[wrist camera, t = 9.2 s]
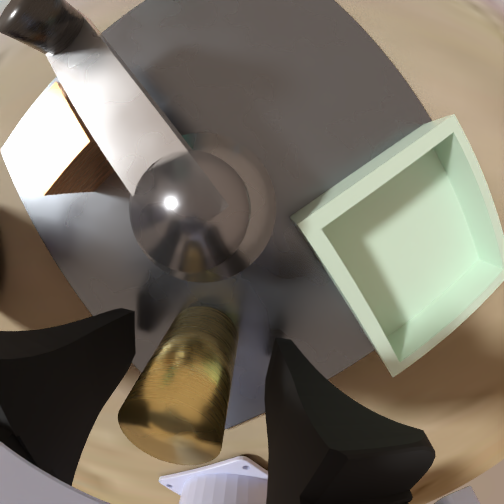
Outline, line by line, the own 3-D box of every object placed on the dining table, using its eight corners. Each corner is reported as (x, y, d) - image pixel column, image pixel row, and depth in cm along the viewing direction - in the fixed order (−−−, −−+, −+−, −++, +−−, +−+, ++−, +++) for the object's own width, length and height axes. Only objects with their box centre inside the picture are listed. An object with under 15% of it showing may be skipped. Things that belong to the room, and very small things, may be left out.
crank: (273, 220, 8) (285, 247, 4) (188, 282, 8) (142, 345, 5) (100, 6, 6) (51, -39, 3) (43, 60, 6) (-17, 34, 3)
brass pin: (252, 343, 11) (244, 449, 6) (202, 373, 12) (172, 471, 6) (207, 292, 11) (163, 382, 5) (158, 328, 11) (100, 416, 6)
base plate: (478, 250, 11) (532, 270, 7) (211, 425, 13) (200, 481, 9) (260, -46, 8) (259, -96, 4) (10, 151, 10) (-41, 149, 6)
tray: (482, 259, 10) (511, 271, 8) (374, 349, 11) (392, 377, 9) (423, 123, 9) (454, 114, 7) (289, 217, 10) (297, 224, 8)
